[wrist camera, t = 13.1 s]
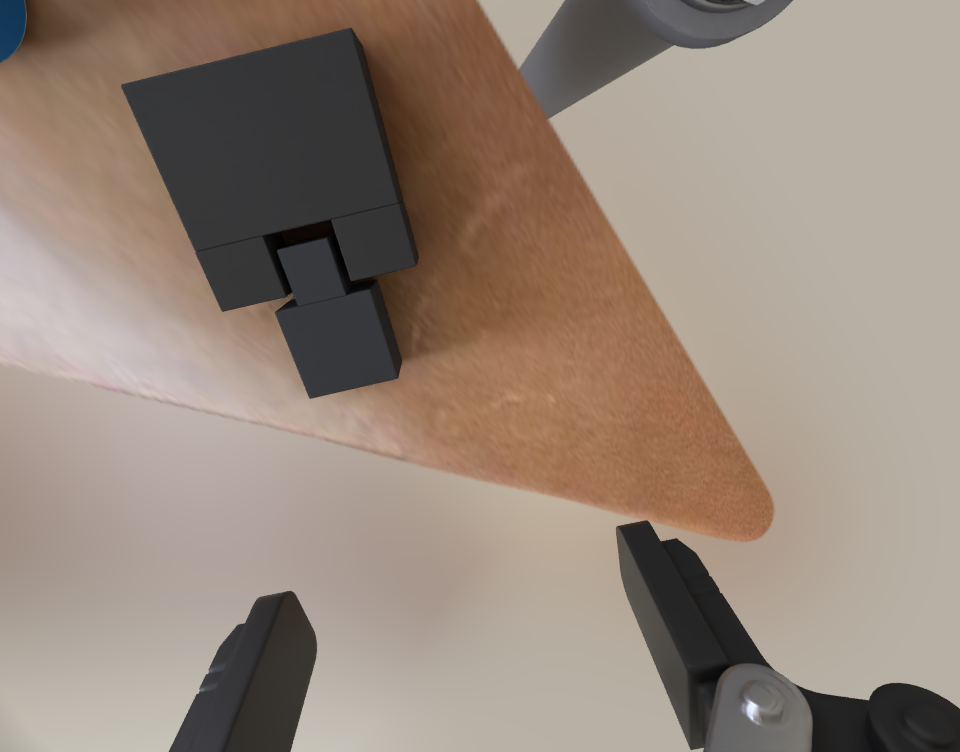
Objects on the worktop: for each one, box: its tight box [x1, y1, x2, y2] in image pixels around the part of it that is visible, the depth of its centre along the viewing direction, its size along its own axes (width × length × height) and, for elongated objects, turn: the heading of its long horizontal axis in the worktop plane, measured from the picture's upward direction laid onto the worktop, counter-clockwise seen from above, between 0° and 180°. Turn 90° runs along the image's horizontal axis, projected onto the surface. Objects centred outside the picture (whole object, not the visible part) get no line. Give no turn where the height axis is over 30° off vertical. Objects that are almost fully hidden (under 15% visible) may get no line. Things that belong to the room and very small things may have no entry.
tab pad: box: [275, 233, 402, 399], centre depth 30 cm, size 9×6×3 cm, turn 12°
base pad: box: [121, 28, 419, 312], centre depth 27 cm, size 12×12×3 cm
